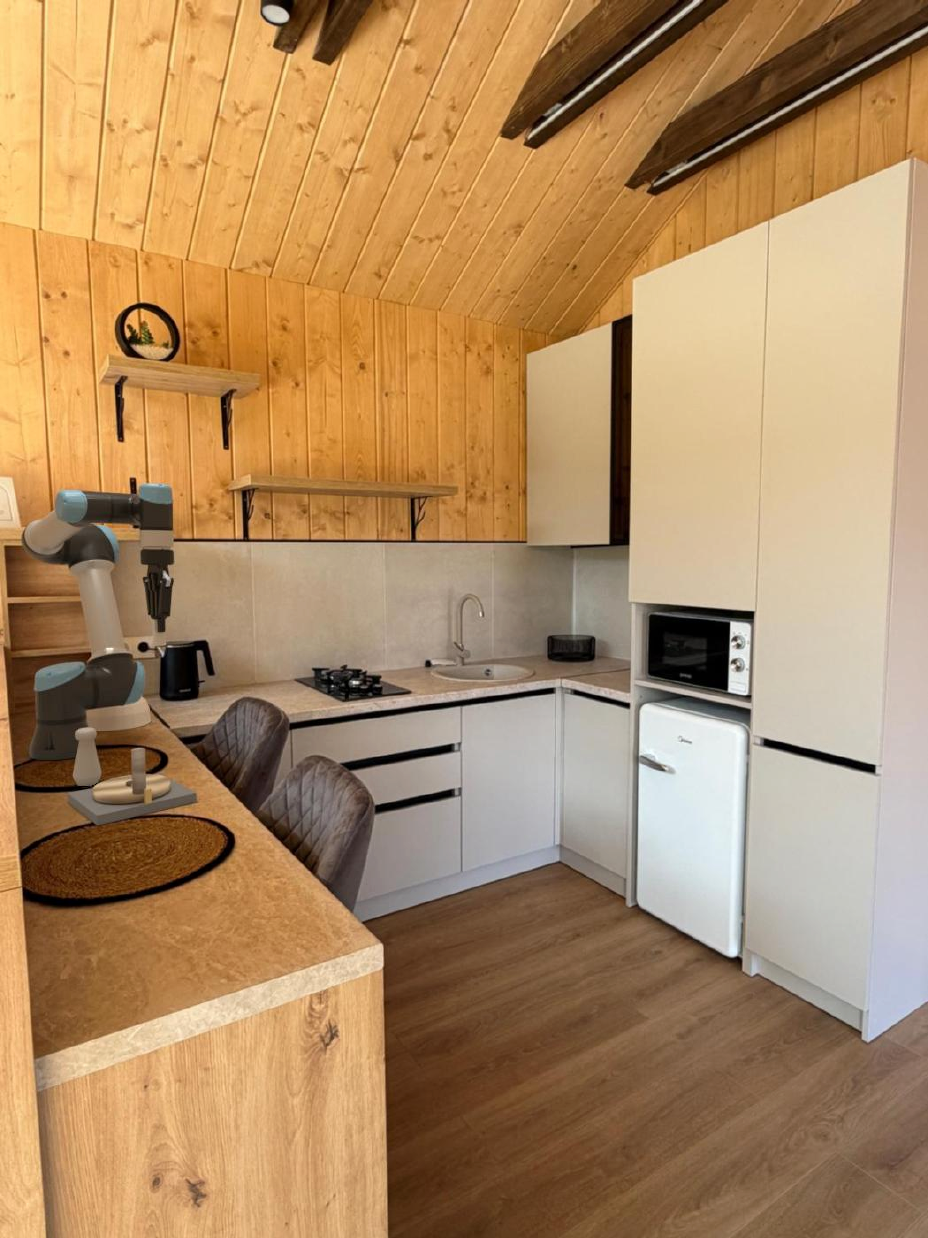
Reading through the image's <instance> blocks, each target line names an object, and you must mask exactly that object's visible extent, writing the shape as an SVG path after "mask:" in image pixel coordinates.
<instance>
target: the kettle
mask: <svg viewBox="0 0 928 1238" xmlns="http://www.w3.org/2000/svg"><path fill="white" fill-rule="evenodd" d="M86 714H87V723H88V726H89V728H94V729H95V730H96V732H115V731H116V732H117V731H124V730H131V729H135V728H140V727H143V726H146V725H149V724H150V723H151V722H152V715H151V710H150V706H149V704H148V701H147V700H146V699H145V697H143V696H142V697H141V699H140V700H139V701H138V702H136V703H133V704H127V705H124V706H114V707H107V708H99V709H92V710H87V713H86Z"/></svg>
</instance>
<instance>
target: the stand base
mask: <svg viewBox="0 0 928 1238" xmlns="http://www.w3.org/2000/svg"><path fill="white" fill-rule="evenodd" d="M159 775H162V776H165V777H167V778H169V779H170V790H169V791H168V792H167V793H166V794H164V795H162V796H159V797H157V798H154V799H152V789H151V788H146V789H144V801H141V802H135V803H126V804H109V803H102V802H98V801H96V800H94V799H93V787H91V788H87V789H81V790H78V791H73V792H68V793H67V803H68V804H69V805H70V806H72V807H73V808H74V809H76V810H77V811H78V812H79V813H81V814H82V815H83V816H84V817H86V818H87V819H88V820H89V821H91V822H92V823H93V824H94V825H96V826H98V827H99V826H103V825H105V824H109V823H114V822H118V821H119V822H120V821H123V820H127V819H131V818H135V817H140V816H144V815H147V814H152V813H156V812H159V811H164V810H169V809H172V808H173V809H174V808H177V807H181V806H185V805H190V804H193V803H197V802H198V800H197V799H198V796H197V795H198V794H197V793H198V792H196V791H194V790H192V789H190V788H188V787H187V786H185V785H183V784H181V783H179V782H178V781H176V780H174V779H172V778H170V777H168V776H167V775H165V774H163V773H161V774H160V773H159Z"/></svg>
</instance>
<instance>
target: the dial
mask: <svg viewBox="0 0 928 1238" xmlns="http://www.w3.org/2000/svg"><path fill="white" fill-rule="evenodd" d="M130 751H131V752H130V755H131V757H130V758H131V761H130V762H131V774H128V775H123V776H117V777H112V778H109V779H107V780H103V781H100V782H98V783H97V784H96V785H94V786H92V788H93V799H94V800H96V801H98V802H102V803H109V804H126V803H135V802H141V801H144V789H146V788H151V789H152V799H154V798H157V797H159V796H162V795H164V794H166V793H167V792H168V791H169V790H170V779H171V778H170V777H169V778H170V779H169V778H167V777H168V776H167V777H165V776H166V775H165V776H162V775H160V774H154V773H153V774H151V773H147V772H146V749H145V747H137V748H136V747H135V748H132V749H131V750H130Z"/></svg>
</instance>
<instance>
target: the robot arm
mask: <svg viewBox="0 0 928 1238" xmlns="http://www.w3.org/2000/svg"><path fill="white" fill-rule="evenodd" d="M54 499H55V500H54V509H53V510H52V511H50V512H49V513H48V514H46V515H45V516H44V517H43V518H42V519H37V520H33V521H32V522H30V523H29V524H27V525H26V526H25V527H24V529H23V531H22V534H21V536H20V537H21V539H20V542H21V545H22V547H23V549H24V551H25V552H26V553H27V555H29V556H30V557H31V558H33V559H34V560H36V561H38V562H41V563H44V564H48V565H54V566H55V565H57V566H59V565H61V566H62V565H64V566H67V567H68V572H69V574H71V575H73V577H75V578H76V581H77V586H78V591H79V595H80V603H81V607H82V612H83V616H84V617H83V618H84V621H85V626H86V632H87V637H88V642H89V647H90V653H91V655H90V658H89V659H88V660H87V661H86V663H87V666H86V664H85V663H84V662H83V661H72V662H62V663H57V664H56V663H55V664H52V665H49V666H45V667H43V668H40V669H38V670H37V671H36V673H35V675H34V686H33V691H34V702H35V703H34V704H35V721H36V722H35V724H36V726H35V730H34V732H33V734H32V735H33V736H32V738H31V741H30V745H29V750H28V751H29V757H30V758H31V759H34V760H39V761H56V760H58V761H60V760H67V759H69V760H70V759H74V758H75V759H76V755H77V749H78V744H79V740H77V739H76V738H75V733H76V731H77V730H78V729H81V728H87V727H89V726H88V723H87V714H86V713H87V710H92V709H99V708H107V707H114V706H124V705H127V704H133V703H136V702H138V701H139V700H140V699H141V697H143V695H144V691H145V687H146V682H147V681H146V678H147V677H146V669H145V667H144V665H143V663H142V662H140V661H137V660H136V661H135V660H134V655H133V652H132V653H131V652H130V651H128V650H127V649H126V644H125V641H124V640H125V639H124V636H123V630H122V626H121V621H120V617H119V615H120V614H119V610H118V607H117V602H116V596H115V591H114V586H113V582H112V577H111V572H112V571H113V569H115V564H117V562H118V561H119V557H120V552H119V550H120V546H119V542H118V539H117V536H116V534H115V533H114V531H113V530H112V529H111V528H110V527H108V526H107V525H103V524H113V525H114V524H115V525H116V524H117V525H130V526H139V547H141V548H142V549H140V550H139V551H140V553H139V554H140V556H139V557H140V558H139V559H140V564H141V565H142V566H147V569H146V576H143V577H142V582H143V585H144V593H145V600H146V609H147V615H148V616H150V618H151V624H152V625H151V627H152V646H153V647H161V646H163V647H164V646H167V618H169V617H171V608H172V607H171V606H172V599H173V598H172V596H173V595H172V594H173V588H174V587H173V586H174V584H175V583H174V582H175V580H174V578H173V577H170V572H169V568H168V567H169V566H172V565H174V564H175V551H174V550H173V549H172V548H174V542H175V541H174V540H175V539H176V536H175V534H174V497H173V488H172V487H171V486H170V485H169V484H165V483H150V482H149V483H148V482H147V483H141V484H139V486H138V493H122V492H107V491H94V490H93V491H92V490H80V489H76V488H75V489H61V490H59V491H58V492H57V494H56V497H55V498H54ZM94 742H95V739H94ZM95 743H96V742H95Z"/></svg>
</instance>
